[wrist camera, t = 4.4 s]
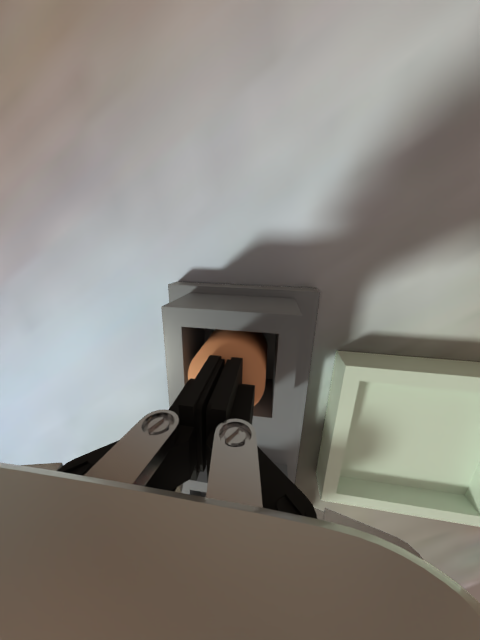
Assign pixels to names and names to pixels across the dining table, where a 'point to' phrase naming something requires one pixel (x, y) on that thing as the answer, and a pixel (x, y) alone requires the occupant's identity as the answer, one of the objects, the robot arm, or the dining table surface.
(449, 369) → the tray
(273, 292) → the housing
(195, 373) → the tan rounded piece
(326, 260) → the dining table surface
